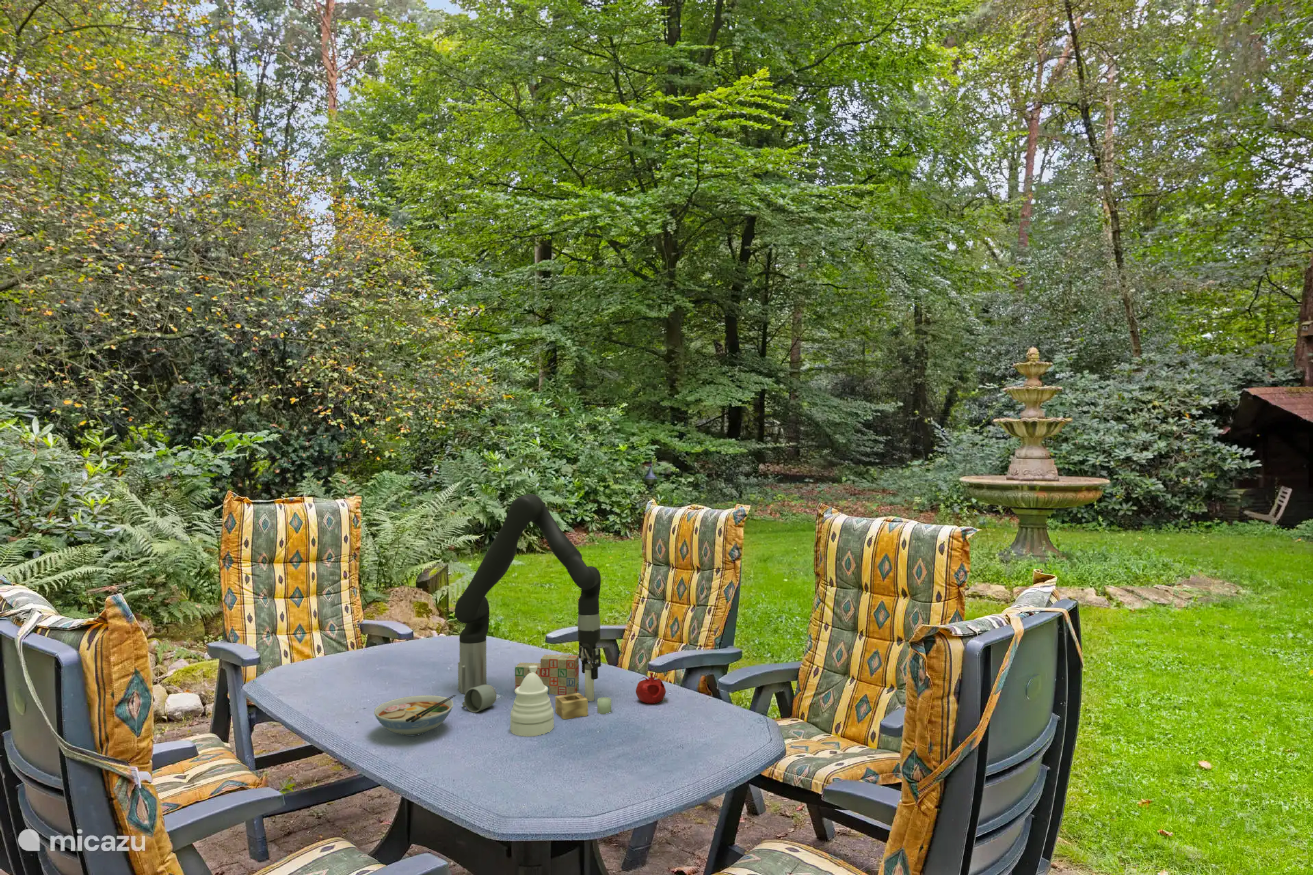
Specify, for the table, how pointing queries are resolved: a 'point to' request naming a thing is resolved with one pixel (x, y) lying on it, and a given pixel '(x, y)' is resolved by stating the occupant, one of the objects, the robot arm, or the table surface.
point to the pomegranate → (650, 690)
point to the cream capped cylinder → (589, 683)
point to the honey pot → (531, 707)
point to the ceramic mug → (479, 698)
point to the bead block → (571, 706)
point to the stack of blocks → (553, 673)
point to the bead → (604, 705)
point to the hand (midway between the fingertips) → (589, 675)
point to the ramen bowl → (414, 713)
